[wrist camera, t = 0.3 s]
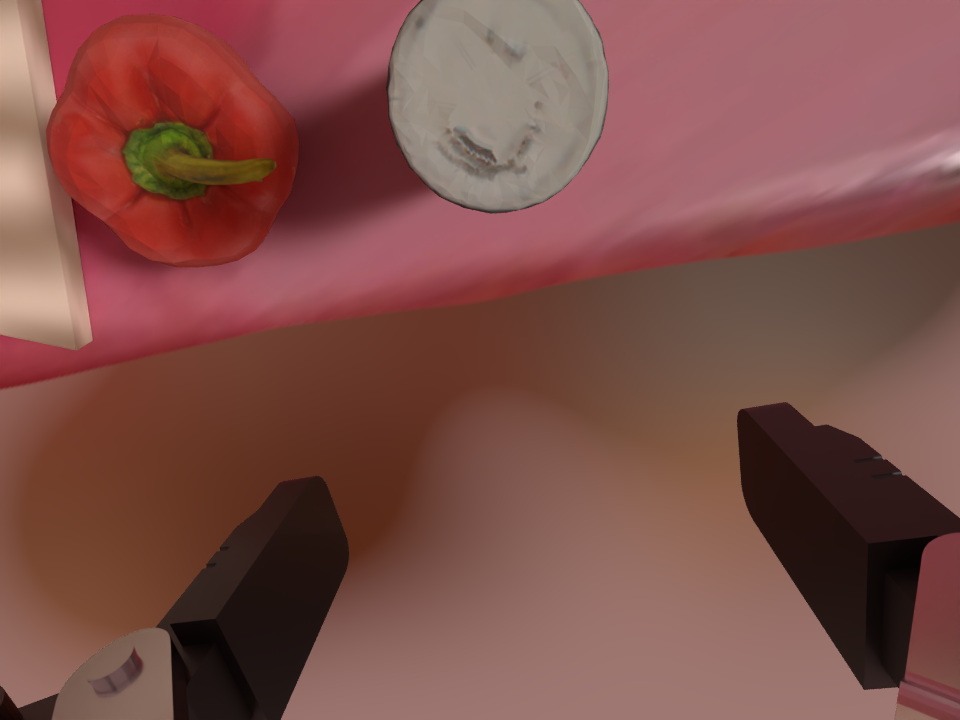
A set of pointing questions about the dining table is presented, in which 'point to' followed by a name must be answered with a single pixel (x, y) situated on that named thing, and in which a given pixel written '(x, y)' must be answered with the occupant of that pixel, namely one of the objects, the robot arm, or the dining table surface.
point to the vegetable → (172, 141)
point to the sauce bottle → (497, 98)
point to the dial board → (34, 195)
